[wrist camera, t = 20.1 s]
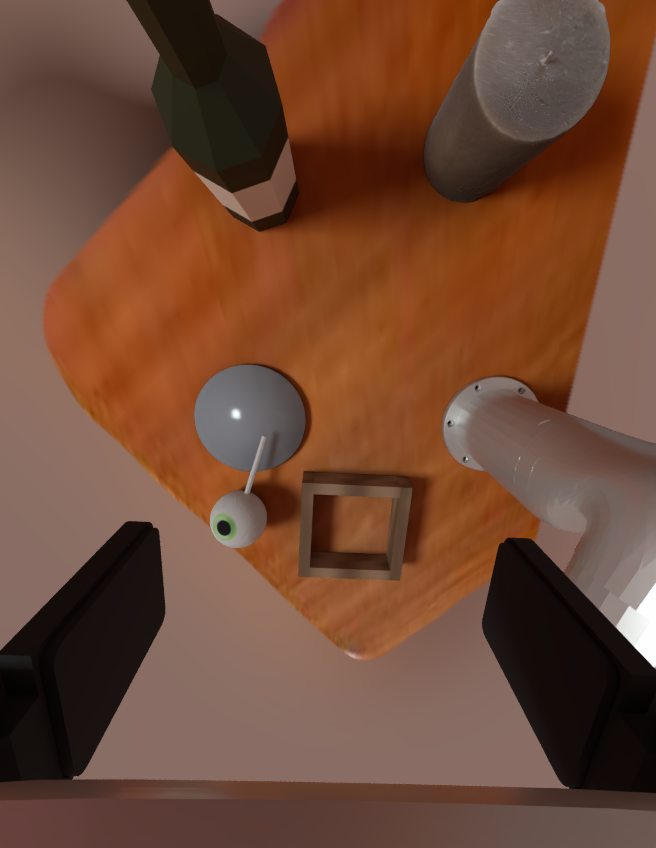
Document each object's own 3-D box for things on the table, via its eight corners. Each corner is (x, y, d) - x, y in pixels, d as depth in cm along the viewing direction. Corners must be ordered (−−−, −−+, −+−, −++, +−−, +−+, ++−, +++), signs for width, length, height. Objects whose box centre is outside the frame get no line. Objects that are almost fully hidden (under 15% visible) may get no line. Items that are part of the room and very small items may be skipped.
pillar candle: (472, 221, 40) (556, 166, 26) (403, 164, 38) (452, 71, 24) (532, 136, 38) (660, 24, 23) (461, 72, 36) (552, -91, 22)
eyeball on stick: (276, 449, 40) (239, 567, 42) (300, 443, 47) (267, 545, 49) (224, 427, 42) (191, 540, 44) (255, 424, 49) (225, 523, 51)
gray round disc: (308, 367, 44) (307, 368, 44) (303, 471, 48) (303, 473, 47) (194, 360, 44) (192, 361, 43) (198, 466, 48) (196, 468, 47)
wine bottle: (314, 195, 39) (291, -156, 10) (258, 248, 40) (100, 69, 12) (263, 125, 37) (58, -545, 8) (206, 183, 39) (-137, -220, 10)
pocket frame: (406, 476, 49) (412, 488, 45) (395, 563, 52) (400, 580, 49) (303, 471, 48) (302, 482, 45) (299, 560, 52) (298, 576, 49)
